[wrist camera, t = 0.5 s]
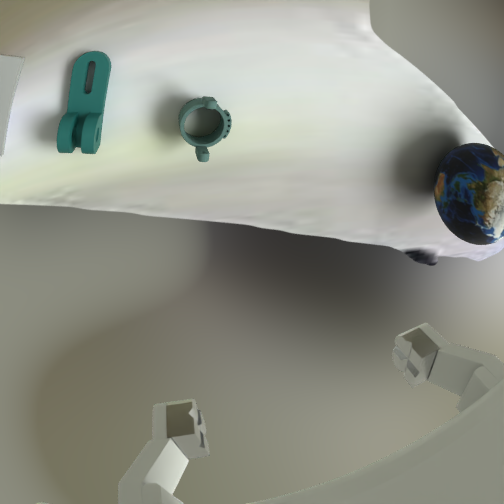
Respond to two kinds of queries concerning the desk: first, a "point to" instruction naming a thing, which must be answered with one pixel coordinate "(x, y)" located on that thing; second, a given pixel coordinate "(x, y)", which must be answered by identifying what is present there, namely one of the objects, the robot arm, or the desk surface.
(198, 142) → the bracket
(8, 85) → the well
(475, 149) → the globe
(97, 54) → the bracket
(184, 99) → the desk surface
